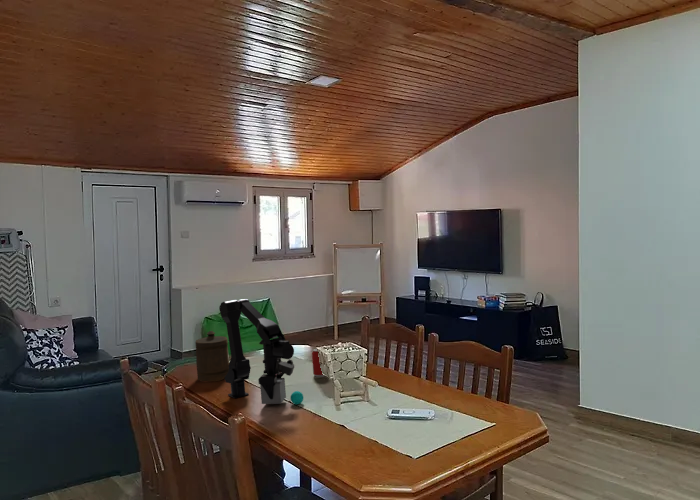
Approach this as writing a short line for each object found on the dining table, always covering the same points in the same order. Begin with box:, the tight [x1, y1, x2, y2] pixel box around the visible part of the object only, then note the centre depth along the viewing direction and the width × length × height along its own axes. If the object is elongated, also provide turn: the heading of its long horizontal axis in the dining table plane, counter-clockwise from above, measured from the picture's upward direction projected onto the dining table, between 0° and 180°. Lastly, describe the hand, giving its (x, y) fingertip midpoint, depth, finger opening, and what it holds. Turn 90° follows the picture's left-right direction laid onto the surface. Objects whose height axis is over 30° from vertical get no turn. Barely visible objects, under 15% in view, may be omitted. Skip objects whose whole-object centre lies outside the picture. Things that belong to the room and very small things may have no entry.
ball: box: [290, 390, 304, 405], centre depth 229 cm, size 5×5×5 cm
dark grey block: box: [259, 377, 287, 405], centre depth 230 cm, size 8×8×8 cm
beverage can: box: [311, 348, 325, 378], centre depth 268 cm, size 6×6×12 cm
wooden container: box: [195, 330, 230, 382], centre depth 276 cm, size 15×15×22 cm
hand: (274, 395), depth 230 cm, fingers closed on dark grey block, 8 cm apart
